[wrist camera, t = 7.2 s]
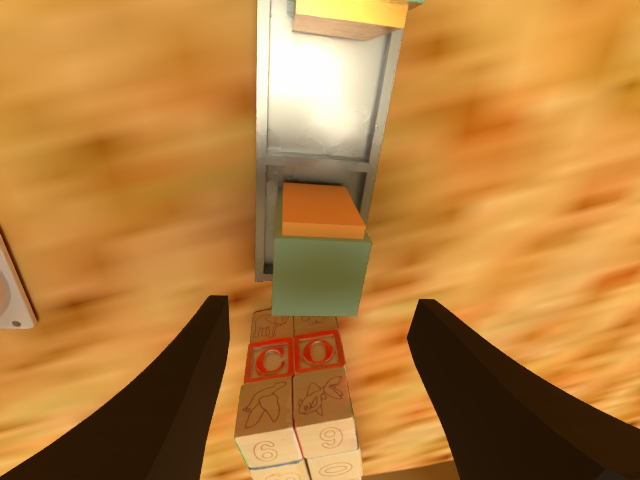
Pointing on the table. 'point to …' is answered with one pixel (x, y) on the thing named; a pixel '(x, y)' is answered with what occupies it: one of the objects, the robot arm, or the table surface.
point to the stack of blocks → (297, 402)
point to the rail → (321, 100)
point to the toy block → (318, 252)
